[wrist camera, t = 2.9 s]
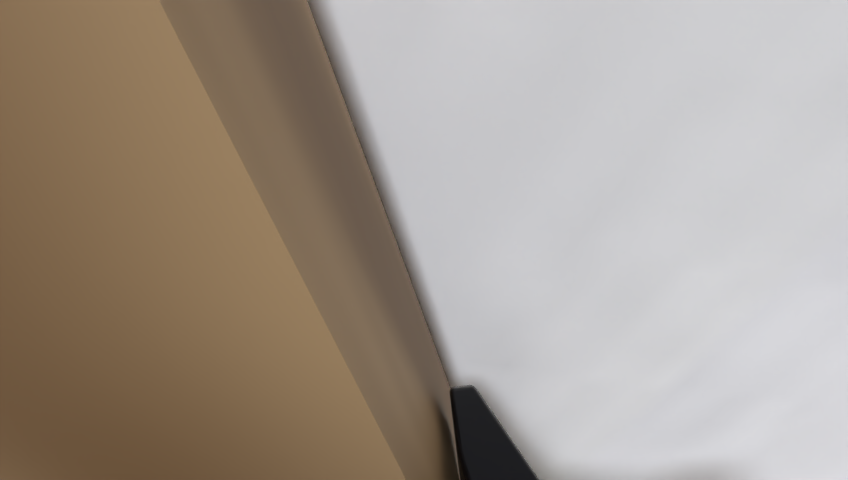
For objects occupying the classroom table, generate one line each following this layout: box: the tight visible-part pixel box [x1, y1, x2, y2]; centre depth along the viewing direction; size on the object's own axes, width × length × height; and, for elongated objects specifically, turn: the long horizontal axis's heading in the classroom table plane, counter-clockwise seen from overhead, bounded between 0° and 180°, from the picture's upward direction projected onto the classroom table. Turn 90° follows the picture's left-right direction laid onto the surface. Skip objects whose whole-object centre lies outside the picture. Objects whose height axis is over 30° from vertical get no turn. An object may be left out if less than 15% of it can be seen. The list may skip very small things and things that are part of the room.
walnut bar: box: [0, 0, 460, 480], centre depth 8 cm, size 4×18×4 cm, turn 16°
